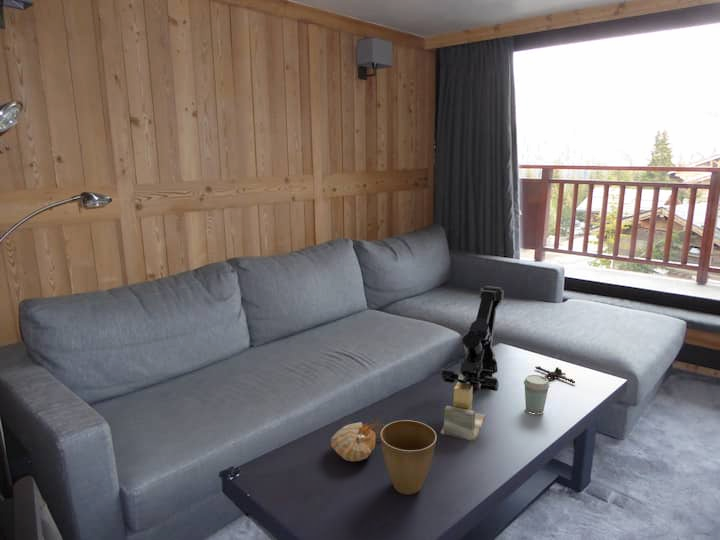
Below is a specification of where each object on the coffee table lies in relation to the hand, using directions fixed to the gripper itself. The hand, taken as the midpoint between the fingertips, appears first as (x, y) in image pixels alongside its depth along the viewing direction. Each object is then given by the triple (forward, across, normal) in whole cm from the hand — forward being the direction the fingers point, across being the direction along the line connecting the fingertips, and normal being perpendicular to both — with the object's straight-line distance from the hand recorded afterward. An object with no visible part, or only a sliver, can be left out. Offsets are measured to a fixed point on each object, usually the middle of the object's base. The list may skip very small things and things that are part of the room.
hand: (464, 403), depth 172 cm
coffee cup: (-8, +20, +19) cm, 29 cm away
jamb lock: (+6, 0, +5) cm, 8 cm away
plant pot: (+33, -6, -22) cm, 40 cm away
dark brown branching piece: (-29, +23, +40) cm, 55 cm away
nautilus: (+25, -25, -14) cm, 38 cm away
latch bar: (+6, 0, +3) cm, 7 cm away
